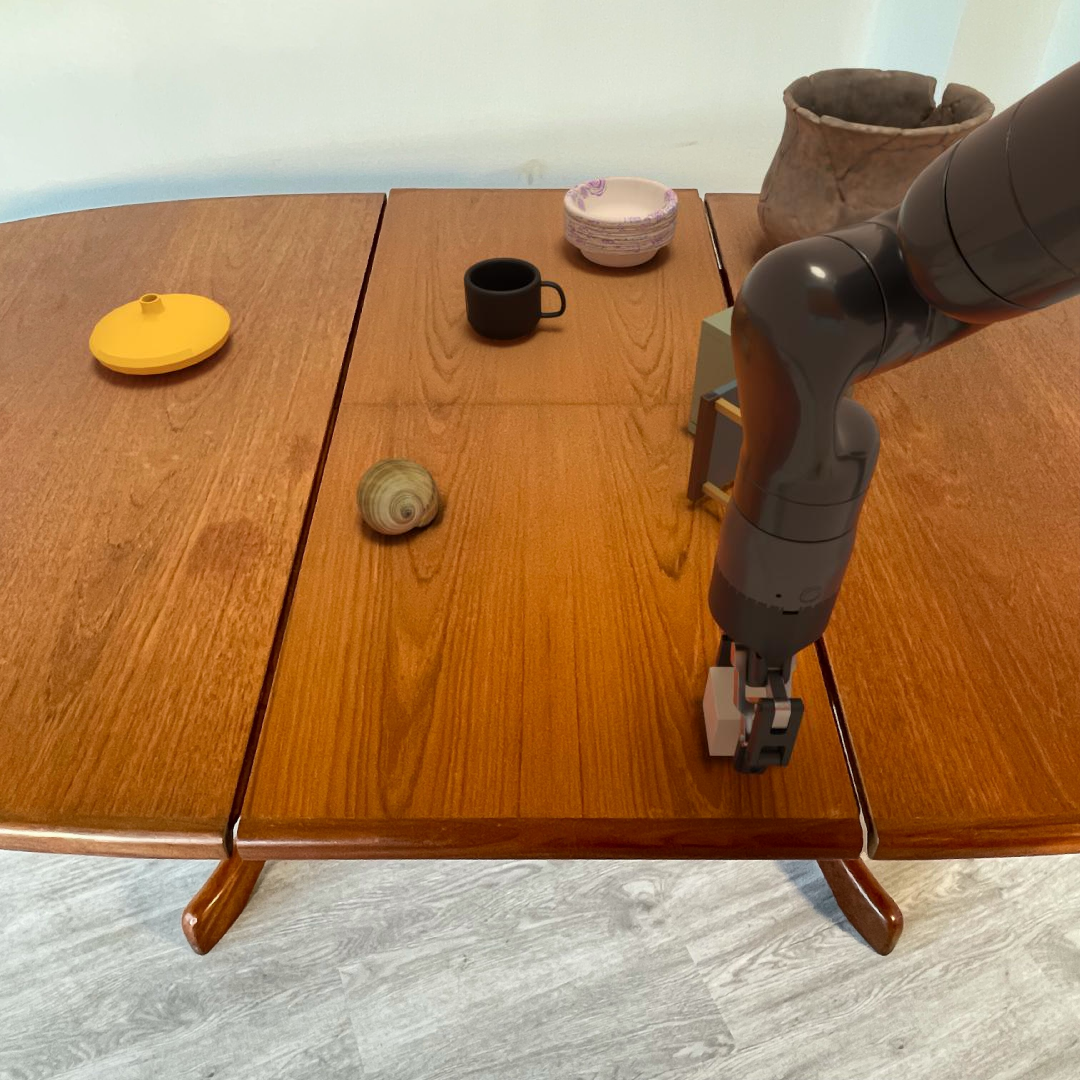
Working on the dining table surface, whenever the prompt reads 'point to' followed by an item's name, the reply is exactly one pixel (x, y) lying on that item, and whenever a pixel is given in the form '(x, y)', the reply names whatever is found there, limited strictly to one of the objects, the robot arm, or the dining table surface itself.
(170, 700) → the dining table surface
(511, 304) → the mug
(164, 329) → the vase
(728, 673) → the block
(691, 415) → the cabinet
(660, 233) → the paper bowls
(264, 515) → the dining table surface
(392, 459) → the seashell
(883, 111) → the pot
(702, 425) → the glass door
